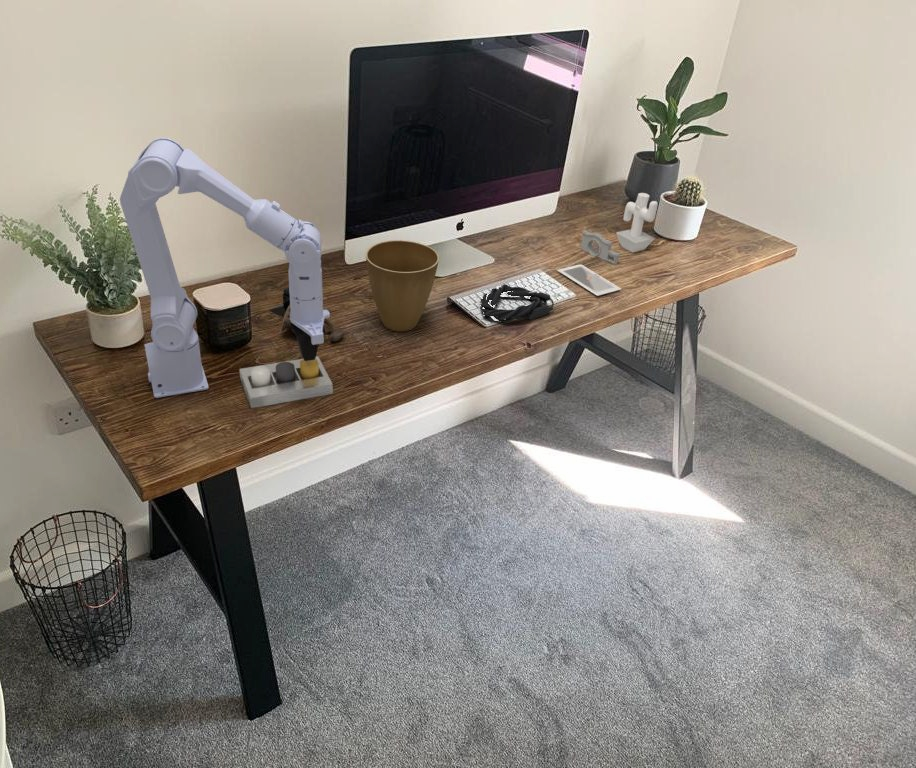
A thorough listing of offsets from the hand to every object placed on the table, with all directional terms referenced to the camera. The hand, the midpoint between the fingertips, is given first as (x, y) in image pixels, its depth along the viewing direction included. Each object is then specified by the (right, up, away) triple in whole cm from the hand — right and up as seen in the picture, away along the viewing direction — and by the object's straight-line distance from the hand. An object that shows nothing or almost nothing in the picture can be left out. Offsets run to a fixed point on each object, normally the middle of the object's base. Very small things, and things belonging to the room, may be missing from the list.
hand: (309, 358), depth 149 cm
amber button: (0, -3, +2) cm, 4 cm away
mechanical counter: (-3, +5, +17) cm, 18 cm away
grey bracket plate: (+64, +28, +60) cm, 92 cm away
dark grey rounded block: (-4, -4, +1) cm, 6 cm away
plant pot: (+15, +8, +24) cm, 29 cm away
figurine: (+74, +31, +65) cm, 104 cm away
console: (-4, -5, +1) cm, 7 cm away
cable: (+39, +12, +33) cm, 53 cm away
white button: (-9, -5, -1) cm, 10 cm away
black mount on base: (-8, +12, +27) cm, 31 cm away
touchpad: (+59, +20, +47) cm, 78 cm away
